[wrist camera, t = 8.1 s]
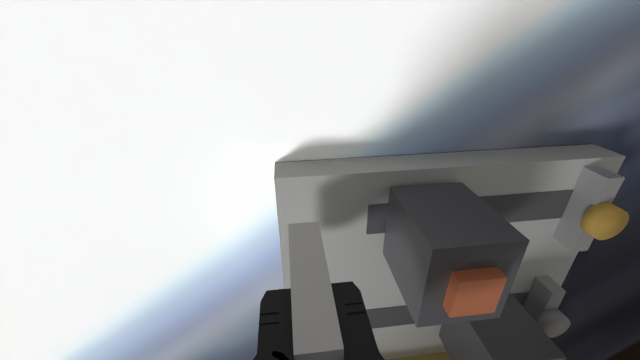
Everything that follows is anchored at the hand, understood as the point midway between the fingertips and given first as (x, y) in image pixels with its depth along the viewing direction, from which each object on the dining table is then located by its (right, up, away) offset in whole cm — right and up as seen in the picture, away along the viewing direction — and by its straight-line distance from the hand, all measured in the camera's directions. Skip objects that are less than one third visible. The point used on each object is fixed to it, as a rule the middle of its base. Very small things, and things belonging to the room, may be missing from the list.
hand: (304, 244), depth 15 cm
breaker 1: (+6, +1, +2) cm, 7 cm away
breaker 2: (+12, -6, +6) cm, 15 cm away
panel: (+8, -9, +10) cm, 16 cm away
